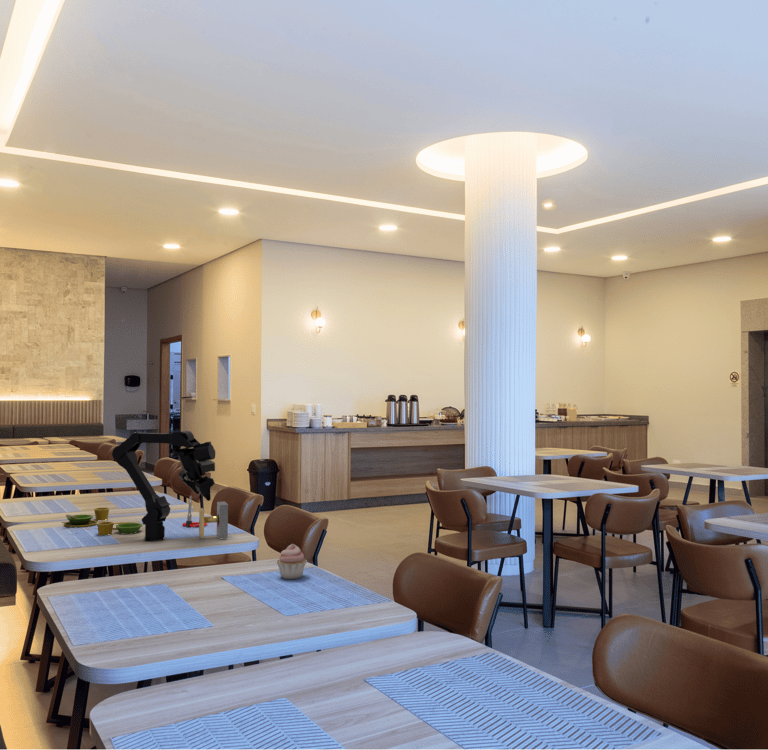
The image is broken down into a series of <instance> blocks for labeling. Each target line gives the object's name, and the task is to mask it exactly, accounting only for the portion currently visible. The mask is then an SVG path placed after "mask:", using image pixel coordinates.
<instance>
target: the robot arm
mask: <svg viewBox="0 0 768 750" xmlns="http://www.w3.org/2000/svg"><path fill="white" fill-rule="evenodd" d="M142 443H144V444H147V443H148V444H167V445H171V446H174V447H175V448H174V450H173V453H172V455H171V457H173V458H174V457H178V459H179V461H180V463H181V471H179V472H178V477H179V479H180V480H181V481H182V483H184V484H185V485H186V486H188V487H189V488H190V490H192V491H193V492H194V493H195V494H196V495H199V494H200V495H201V496H202V497H203V498H204V499H205V500H206V501H207V502H209V501H211V497H212V496H211V488H212V487H213V486H214V485H215V484H216V483H215V480H214V478H212V477H210V476H208V475H206V474H207V473H209V472H215V471H216V463H215V461H213V460H215V459H216V450H215V447H214V445H212V441H205V442H204V443H203V442H202V443H200V442H199V441H198V439H196V438H195V436H194V433H192V431H191V430H182V431H174V432H169V433H168V432H167V433H166V432H165V433H164V432H141V431H138V432H137V431H136V432H134V433H132V434H131V435H130V436H129V437H127V439H125V440H124V441H122V442H121V443H120V444H119V445H118V446H115V447H113V450H112V453H111V457H112V458H113V460H114V461H115V462H116V464H117V465H118V466H120V467H122V468H123V469H124V470H125V471H126V473H127V475H128V476H129V477H130V479H131V480H132V482H133V484H134V485H135V487H136V488H137V490H138V492H139V494H140V495H141V497H142V499H143V500H144V503H145V511H146V512H147V513H146V514H145V515H144V516H143V517H142V518H141V522H142V523H141V524H142V526H143V525H144V526H145V528H144V529H145V530H144V541H145V542H151V541H153V542H155V541H154V540H156V541H164V538H165V535H166V533H165V530H166V529H165V525H164V522H165V521H166V519H167V517H168V516H169V515H170V512H171V507H170V505H171V503H169V502H168V500H167V498H166V496H164V495H162V496H160V495H158V494H157V492H156V491H155V489H154V488H153V486H152V485H151V483H150V481H149V480H148V478H147V476H146V475H145V473H144V472H143V470H142V468H141V467H140V465H139V464H138V456H137V454H136V452H137V451H138V450H139V449H140V447H141V445H142ZM179 447H182V448H179ZM183 447H184V448H183ZM205 475H206V476H205ZM203 476H204V477H203Z"/></svg>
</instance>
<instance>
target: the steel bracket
mask: <svg viewBox="0 0 768 750" xmlns="http://www.w3.org/2000/svg"><path fill="white" fill-rule="evenodd" d="M216 516H219V522H216V537H217V536H218V537H219V538H228V534H229V533H228V531H229V530H228V528H229V525H228V524H229V504H228V503H227V502H226V501H217V502H216ZM218 537H217V538H218ZM219 538H218V539H219Z"/></svg>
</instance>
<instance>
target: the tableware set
mask: <svg viewBox="0 0 768 750" xmlns="http://www.w3.org/2000/svg"><path fill="white" fill-rule="evenodd" d="M109 513H110V507H95V508H94V515H95V520H94V519H93V518H94V515H92V514H73V515H71V514H65V517H66V519H67V520H66V521H65V520H64V521H62V522H61V524H63V526H64V527H66V528H70V527H82V528H77V529H78V530H77V531H79V529H83V528H85V529H83V530H90V529H89V528H92V527H93V525H94V526H96V527H98V528H97V532H98V533H97V534H98V536H99V535H108V534H111V535H112V532H113V530H112V529H118V530H117V531H118V532H119V534H121V533H132V534H136V533H135V532H137V533H138V532H139V531H140V529H141V528H142V527H143V523H139V522H135V521H134V522H132V521H124V522H122V521H121V522H113V521H96V520H105V519H107V520H108V517H109ZM92 519H93V520H92ZM114 524H118V525H116V528H113V525H114ZM88 526H90V527H88ZM74 529H75V528H72V529H71V528H70V530H71V531H75V530H74ZM108 536H109V535H108Z"/></svg>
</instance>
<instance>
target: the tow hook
mask: <svg viewBox="0 0 768 750" xmlns="http://www.w3.org/2000/svg"><path fill="white" fill-rule="evenodd" d="M192 497H193V496H192V495H189V499H188V511H187V518H186V521H185V522H183V523H182V527H185V526H186V527H185V528H191V527H193V528H192V529H195V528H199V521H193V520H192V505H193V504H192V502H193V501H192V499H193V498H192ZM206 525H207V526H208V523H204V527H207V526H206ZM194 527H195V528H194Z"/></svg>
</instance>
